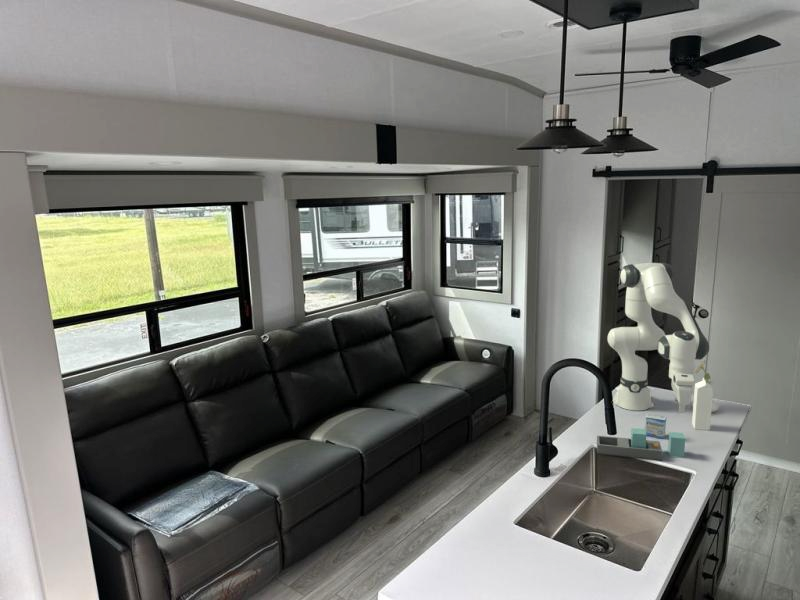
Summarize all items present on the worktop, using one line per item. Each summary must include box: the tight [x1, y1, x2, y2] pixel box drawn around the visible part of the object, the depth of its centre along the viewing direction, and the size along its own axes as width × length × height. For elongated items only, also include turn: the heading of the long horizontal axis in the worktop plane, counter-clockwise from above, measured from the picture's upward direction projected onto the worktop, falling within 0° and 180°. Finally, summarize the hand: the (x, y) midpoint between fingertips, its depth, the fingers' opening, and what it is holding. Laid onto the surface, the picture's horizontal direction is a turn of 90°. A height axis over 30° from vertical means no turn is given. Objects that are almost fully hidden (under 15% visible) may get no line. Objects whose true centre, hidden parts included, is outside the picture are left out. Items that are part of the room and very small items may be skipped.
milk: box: [691, 377, 714, 431], centre depth 243 cm, size 6×6×22 cm
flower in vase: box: [691, 359, 720, 413], centre depth 260 cm, size 13×11×25 cm
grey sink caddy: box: [596, 427, 663, 461], centre depth 225 cm, size 9×24×10 cm, turn 73°
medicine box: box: [644, 413, 667, 440], centre depth 238 cm, size 8×4×9 cm, turn 62°
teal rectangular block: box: [667, 431, 686, 458], centre depth 222 cm, size 5×5×8 cm
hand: (679, 407), depth 219 cm, fingers open, 8 cm apart
